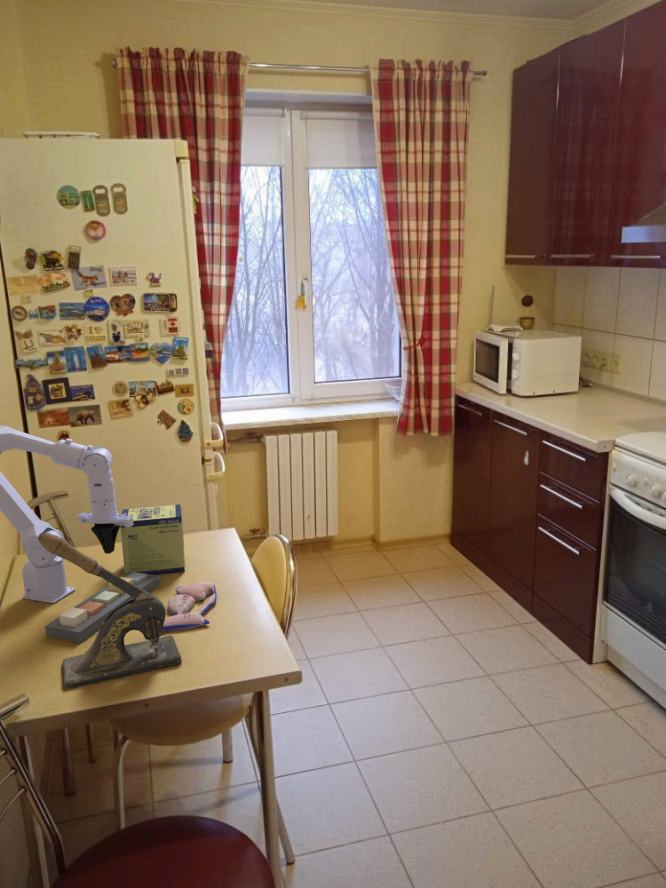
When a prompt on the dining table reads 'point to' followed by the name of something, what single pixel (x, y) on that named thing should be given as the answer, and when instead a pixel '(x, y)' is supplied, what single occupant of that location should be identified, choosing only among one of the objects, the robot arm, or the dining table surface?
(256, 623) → the dining table surface
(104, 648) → the embossing press
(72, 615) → the key ivory
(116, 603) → the keypad board
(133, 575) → the key blue
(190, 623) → the anatomical model
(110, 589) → the key ochre
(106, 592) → the key sage
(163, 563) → the protein powder box
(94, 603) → the key terracotta
